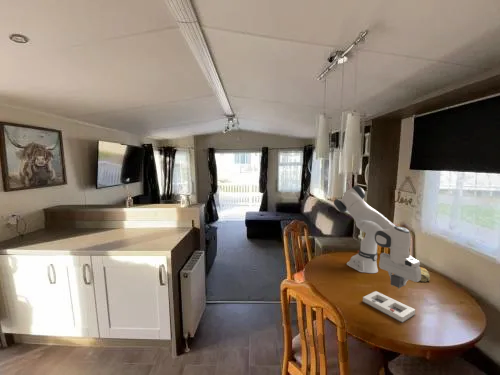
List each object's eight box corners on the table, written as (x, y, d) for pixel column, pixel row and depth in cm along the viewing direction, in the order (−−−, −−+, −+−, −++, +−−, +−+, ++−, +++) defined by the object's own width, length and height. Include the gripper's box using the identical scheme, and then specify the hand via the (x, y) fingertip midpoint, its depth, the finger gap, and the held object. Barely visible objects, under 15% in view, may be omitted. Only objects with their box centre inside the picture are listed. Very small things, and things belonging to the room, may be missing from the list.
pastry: (419, 273, 179) (420, 263, 178) (435, 281, 167) (436, 270, 166) (403, 275, 177) (404, 264, 176) (418, 283, 164) (418, 272, 164)
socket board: (362, 301, 142) (363, 296, 142) (375, 295, 149) (375, 290, 148) (402, 323, 123) (402, 316, 123) (415, 314, 130) (415, 308, 130)
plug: (390, 286, 131) (391, 275, 130) (396, 283, 134) (396, 273, 133) (399, 289, 127) (399, 278, 126) (404, 287, 130) (405, 276, 129)
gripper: (377, 252, 136) (375, 276, 137) (417, 265, 119) (415, 292, 120) (383, 250, 139) (382, 273, 141) (423, 263, 122) (421, 289, 123)
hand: (397, 282), depth 130 cm, fingers closed on plug, 4 cm apart
